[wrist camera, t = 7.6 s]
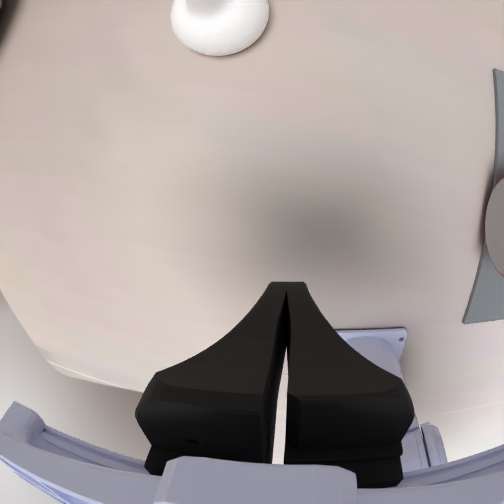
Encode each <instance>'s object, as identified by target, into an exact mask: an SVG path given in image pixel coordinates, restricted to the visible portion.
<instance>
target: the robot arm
mask: <svg viewBox="0 0 504 504" xmlns="http://www.w3.org/2000/svg"><path fill="white" fill-rule="evenodd" d="M407 335H408V332H407V330H406V329H405V328H398V329H378V330H346V331H335V330H334V329H333V327H332V326H331V325H330V324H329V323H328V321H327V320H326V319H325V317H324V316H323V314H322V313H321V312H320V310H319V308H318V307H317V305H316V304H315V302H314V300H313V299H312V297H311V295H310V293H309V291H308V288H307V286H306V284H305V283H304V282H271V283H270V284H269V285H268V287H267V288H266V290H265V292H264V293H263V295H262V296H261V297H260V299H259V300H258V302H257V303H256V304H255V305H254V307H253V308H252V309H251V310H250V312H249V313H248V314H247V315H246V316H245V317H244V318H243V319H242V320H241V321H240V322H239V323H238V324H237V325H236V326H235V327H234V328H233V329H232V330H231V331H230V332H229V333H228V334H226V335H225V336H224V337H223V338H221V339H220V340H219V341H217V342H216V343H214V344H213V345H212V346H210V347H209V348H207V349H206V350H204V351H202V352H200V353H199V354H197V355H195V356H193V357H191V358H189V359H187V360H185V361H183V362H181V363H179V364H177V365H174V366H172V367H169V368H167V369H164V370H162V371H159V372H156V373H155V375H154V376H153V378H152V379H151V381H150V382H149V384H148V386H147V387H146V389H145V391H144V393H143V395H142V398H141V399H140V402H139V404H138V406H137V408H136V411H135V417H136V419H137V422H138V424H139V426H140V427H141V429H142V431H143V432H144V434H145V435H146V437H147V438H148V440H149V442H150V443H151V445H152V446H151V449H150V451H149V454H148V456H147V459H146V461H142V460H139V459H135V458H132V457H129V456H125V455H122V454H119V453H116V452H113V451H109V450H107V449H104V448H101V447H98V446H95V445H92V444H90V443H87V442H84V441H82V440H79V439H77V438H74V437H72V436H70V435H67V434H65V433H63V432H60V431H58V430H55V429H53V428H51V427H49V426H47V425H46V424H45V422H44V421H43V420H42V418H41V417H40V416H39V415H38V414H37V413H36V412H35V411H33V410H32V409H30V408H28V407H26V406H24V405H22V404H20V403H18V402H16V401H14V402H13V403H12V405H11V406H10V408H9V409H8V410H7V412H6V413H5V415H4V416H3V418H2V419H1V420H0V460H1V461H2V462H4V463H5V464H6V465H7V466H8V467H9V468H10V469H12V470H13V471H14V472H15V473H16V474H17V475H19V476H20V477H21V478H22V479H24V480H25V481H27V482H28V483H30V484H31V485H33V486H35V487H36V488H37V489H39V490H41V491H42V492H44V493H45V494H47V495H49V496H51V497H52V498H54V499H56V500H57V501H59V502H61V503H63V504H504V444H503V445H501V446H498V447H495V448H493V449H490V450H487V451H484V452H481V453H478V454H475V455H472V456H469V457H466V458H463V459H459V460H456V461H452V462H449V463H448V462H447V457H446V453H445V449H444V445H443V441H442V438H441V435H440V432H439V430H438V428H437V427H436V426H434V425H430V423H429V422H426V423H424V424H421V431H422V436H423V439H422V436H421V432H420V429H419V425H418V421H417V417H416V414H415V413H414V407H413V403H412V400H411V397H410V395H409V393H408V391H407V388H406V385H405V381H404V378H403V375H402V372H401V368H400V365H399V361H400V358H401V355H402V352H403V348H404V345H405V342H406V338H407ZM401 337H403V338H401ZM399 338H401V339H399ZM286 346H287V361H288V389H287V413H286V438H285V452H284V465H282V464H272V458H273V446H274V434H275V423H276V411H277V399H278V392H279V386H280V381H281V375H282V369H283V364H284V358H285V352H286Z"/></svg>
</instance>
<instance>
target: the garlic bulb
mask: <svg viewBox="0 0 504 504" xmlns="http://www.w3.org/2000/svg"><path fill="white" fill-rule="evenodd" d="M170 19H171V25H172V28H173V31H174V33H175V35H176V36H177V37H178V39H179V40H180V41H181V42H182V43H183V44H184V45H185V46H187V47H188V48H190V49H192V50H194V51H196V52H198V53H202V54H206V55H213V56H224V55H229V54H234V53H237V52H239V51H242V50H243V49H245V48H247V47H249V46H250V45H252V44H253V43H254V42H255V41H256V40H257V39H258V38H259V37H260V36H261V34H262V33H263V31H264V29H265V28H266V25H267V22H268V19H269V5H268V1H267V0H174V2H173V5H172V8H171V14H170Z"/></svg>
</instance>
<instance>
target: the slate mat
mask: <svg viewBox="0 0 504 504" xmlns="http://www.w3.org/2000/svg"><path fill="white" fill-rule="evenodd" d="M493 75H494V87H495V104H496V149H495V167H494V179H493V188H492V191H493V189H494V188H495V186H496V184H497V183H498V182H499V181H500V180H501V179H502V178H503V177H504V72H503V71H501V70H498V69H493ZM502 319H504V277H503V276H502V275H501V274H500V273H499V272H498V271H497V270H496V268H495V267H494V265H493V263H492V261H491V259H490V255H489V252H488V249H487V244H486V236H485V240H484V245H483V250H482V254H481V259H480V263H479V267H478V271H477V275H476V279H475V282H474V286H473V289H472V293H471V296H470V299H469V303H468V306H467V309H466V312H465V315H464V318H463V321H462V322H463V324H470V323H479V322H487V321H495V320H502Z"/></svg>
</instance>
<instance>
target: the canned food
mask: <svg viewBox="0 0 504 504" xmlns="http://www.w3.org/2000/svg"><path fill="white" fill-rule="evenodd" d="M485 236H486V244H487V249H488V252H489V255H490V259H491V261H492V263H493V265H494V267H495V268H496V270H497V271H498V272H499V273H500V274H501V275H502V276H503V277H504V177H503V178H502V179H501V180H500V181H499V182H498V183H497V184H496V186H495V188H494V189H493V191H492V194H491V196H490V199H489V202H488V206H487V211H486V218H485Z"/></svg>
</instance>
